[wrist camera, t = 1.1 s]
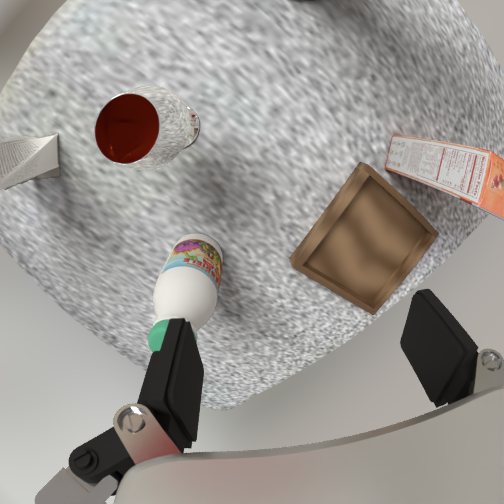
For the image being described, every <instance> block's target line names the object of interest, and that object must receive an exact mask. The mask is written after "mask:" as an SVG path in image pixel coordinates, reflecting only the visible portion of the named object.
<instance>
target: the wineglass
mask: <svg viewBox="0 0 504 504" xmlns="http://www.w3.org/2000/svg"><path fill="white" fill-rule="evenodd" d="M198 132H199V119H198V116H197V115H196V113H195V112H194V111H193V110H192V109H191V108H190V107H188V106H186V105H185V103H184V102H183V100H182V99H181V98H180V97H179V96H178V95H177V94H175V93H174V92H172V91H171V90H169V89H166V88H163V87H159V86H143V87H138V88H135V89H132V90H129V91H127V92H124V93H122V94H120V95H118V96H116V97H114V98H112V99H111V100H109V101H108V102H107V103H106V104H105V105H104V106H103V107H102V109H101V110H100V112H99V114H98V116H97V118H96V122H95V126H94V138H95V142H96V145H97V148H98V150H99V151H100V153H101V154H102V155H103V156H104V157H105V158H106V159H107V160H109V161H111V162H113V163H115V164H118V165H121V166H124V167H128V168H132V169H137V170H150V169H156V168H159V167H162V166H164V165H166V164H168V163H169V162H171V161H172V160H173V159H175V158H176V157H177V156H178V155H179V154H180V152H181V151H182V150H183V148H185V147H187V146H188V145H190V144H191V143H192V142H193V141H194V140H195V138H196V137H197V135H198Z"/></svg>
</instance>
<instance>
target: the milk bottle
mask: <svg viewBox="0 0 504 504" xmlns="http://www.w3.org/2000/svg"><path fill="white" fill-rule="evenodd" d="M222 262H223V255H222V251H221V248H220V246H219V245H218V244H217V242H216V241H215V240H213V239H212V238H211V237H209V236H207V235H204V234H199V233H193V234H188V235H185V236H183V237H182V238H180V239H179V240H178V241H177V243H176V244H175V246H174V247H173V249H172V251H171V253H170V255H169V257H168V259H167V261H166V263H165V265H164V267H163V269H162V271H161V273H160V275H159V278H158V280H157V283H156V285H155V289H154V294H153V304H154V309H155V313H156V317H157V320H156V321H155V322H154V324H153V327H152V329H151V331H150V334H149V338H148V343H149V347H150V349H151V350H152V352H154V351H160V349H161V345H162V342H163V339H164V336H165V332H166V329H167V326H168V323H169V320H170V319H171V318H185V320H186V321H190V323H191V327H192V330H193V334H194V337H195V341H196V342H197V331H198V330H199V329H200V328H201V327H202V326H203V325H205V324H206V323H207V321H208V320H209V319H210V317H211V316H212V314H213V312H214V309H215V307H216V303H217V298H218V292H219V285H220V278H221V271H222Z"/></svg>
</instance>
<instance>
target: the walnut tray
mask: <svg viewBox="0 0 504 504" xmlns="http://www.w3.org/2000/svg"><path fill="white" fill-rule="evenodd" d="M438 235H439V233H438V232H437V231H436V230H435V229H434V228H433V227H432V226H431V225H430V223H429V222H428V221H427V220H426V219H425V218H424V217H423V216H422V215H421V214H420V213H419V212H418V211H417V210H416V209H415V208H414V207H413V206H412V205H411V204H410V203H409V202H408V201H407V200H406V199H405V198H404V197H403V196H402V195H401V194H400V193H399V192H398V191H397V190H396V189H395V188H393V187H392V186H391V185H390V184H389V183H388V182H387V181H386V180H385V179H384V178H383V177H381V176H380V175H379V174H378V173H377V172H376V171H375V170H374V169H372V168H371V167H370V166H369V165H367V164H364V163H361V162H360V163H359V164H358V165H357V167H356V168H355V170H354V171H353V173H352V174H351V175H350V177H349V178H348V180H347V181H346V182H345V184H344V185H343V187H342V188H341V189H340V191H339V192H338V193H337V195H336V196H335V198H334V199H333V200H332V202H331V203H330V204H329V206H328V207H327V209H326V210H325V211H324V213H323V214H322V215H321V217H320V218H319V219H318V221H317V222H316V224H315V225H314V226H313V228H312V229H311V230H310V232H309V233H308V234H307V236H306V237H305V238H304V240H303V241H302V242H301V244H300V245H299V246H298V248H297V249H296V250H295V252H294V253H293V254H292V256H291V257H290V261H291V264H292V267H293V268H294V269H296V270H298V271H300V272H301V273H303V274H305V275H306V276H308V277H310V278H311V279H313V280H315V281H316V282H318V283H320V284H322V285H323V286H325V287H327V288H328V289H330V290H332V291H333V292H335V293H337V294H338V295H340V296H342V297H344V298H345V299H347V300H349V301H350V302H352V303H354V304H355V305H357V306H359V307H360V308H362V309H364V310H365V311H367V312H369V313H370V314H372V315H374V314H375V313H376V312H377V310H378V309H379V308H380V307H381V306H382V305H383V304H384V303H385V301H386V300H387V299H388V298H389V297H390V296H391V295H392V293H393V292H394V291H395V290H396V289H397V288H398V286H399V285H400V284H401V283H402V282H403V280H404V279H405V278H406V277H407V275H408V274H409V273H410V272H411V270H412V269H413V268H414V267H415V265H416V264H417V263H418V262H419V260H420V259H421V258H422V256H423V255H424V254H425V252H426V251H427V250H428V248H429V247H430V246H431V244H432V243H433V242H434V240H435V239H436V237H437V236H438Z"/></svg>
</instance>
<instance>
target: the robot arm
mask: <svg viewBox="0 0 504 504" xmlns="http://www.w3.org/2000/svg"><path fill="white" fill-rule="evenodd" d="M400 344H401V348H402V350H403V351H404V353H405V355H406V357H407V358H408V360H409V362H410V364H411V365H412V367H413V369H414V371H415V373H416V375H417V377H418V378H419V380H420V382H421V384H422V386H423V388H424V390H425V392H426V394H427V395H428V397H429V399H430V401H431V402H434V404H435V406H436V407H439V406H442V405H444V404H446V403H448V405H447V406H444V407H442V408H439V409H437V410H434V411H432V412H429V413H426V414H424V415H421V416H418V417H415V418H412V419H409V420H406V421H403V422H400V423H397V424H394V425H390V426H387V427H384V428H380V429H377V430H373V431H369V432H365V433H361V434H358V435H353V436H348V437H344V438H339V439H334V440H329V441H323V442H318V443H312V444H305V445H298V446H291V447H283V448H273V449H260V450H248V451H227V452H196V453H195V452H194V453H183V452H184V448H191V446H192V441H194V442H195V441H196V440H197V431H198V421H199V412H200V403H201V394H202V385H203V377H204V368H203V364H202V361H201V358H200V354H199V351H198V347H197V344H196V341H195V337H194V334H193V330H192V327H191V323H190V321H186V320H185V318H171V319H170V320H169V323H168V326H167V329H166V332H165V336H164V339H163V342H162V345H161V349H160V351H154V352H153V353H152V356H151V359H150V362H149V365H148V369H147V372H146V375H145V378H144V382H143V385H142V388H141V392H140V395H139V399H138V402H137V404H128V405H126V406H123V407H122V408H121V409H119V410H118V411H117V413H116V414H115V416H114V419H113V425H114V427H112V428H110V429H109V430H107V431H105V432H104V433H102V434H100V435H99V436H97V437H95V438H93V439H92V440H90V441H88V442H86V443H84V444H83V445H81V446H79V447H77V448H76V449H75V450H73V452H72V453H71V454H70V457H69V466H68V467H67V469H65V468H62V469H61V470H60V471H59V472H58V473H57V474H56V475H55V476H54V477H53V478H52V479H51V480H50V481H49V482H48V483H47V484H46V485H45V486H44V487H43V488H42V489H41V490H40V491H39V492H38V494H37V495H36V497H35V504H106V502H105V501H106V500H107V499H108V498H109V497H110V496H114V495H116V496H115V500H114V504H504V360H503V357H502V356H501V355H500V354H499V353H498V352H497V351H495V350H492V349H484V350H482V351H481V352H480V353H478V352H477V349H478V346H477V345H476V344H475V342H474V341H473V340H472V339H471V337H470V336H469V335H468V334H467V332H466V331H465V330H464V329H463V327H462V326H461V325H460V324H459V322H458V321H457V320H456V319H455V318H454V316H453V315H452V314H451V313H450V312H449V310H448V309H447V308H446V307H445V306H444V305H443V304H442V303H441V301H440V300H439V299H438V298H437V297H436V296H435V295H434V293H433V292H432V291H431V290H430V289H424V290H419V291H417V292H416V293H415V295H413V297H412V301H411V305H410V309H409V313H408V316H407V320H406V324H405V327H404V331H403V334H402V337H401V341H400Z"/></svg>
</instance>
